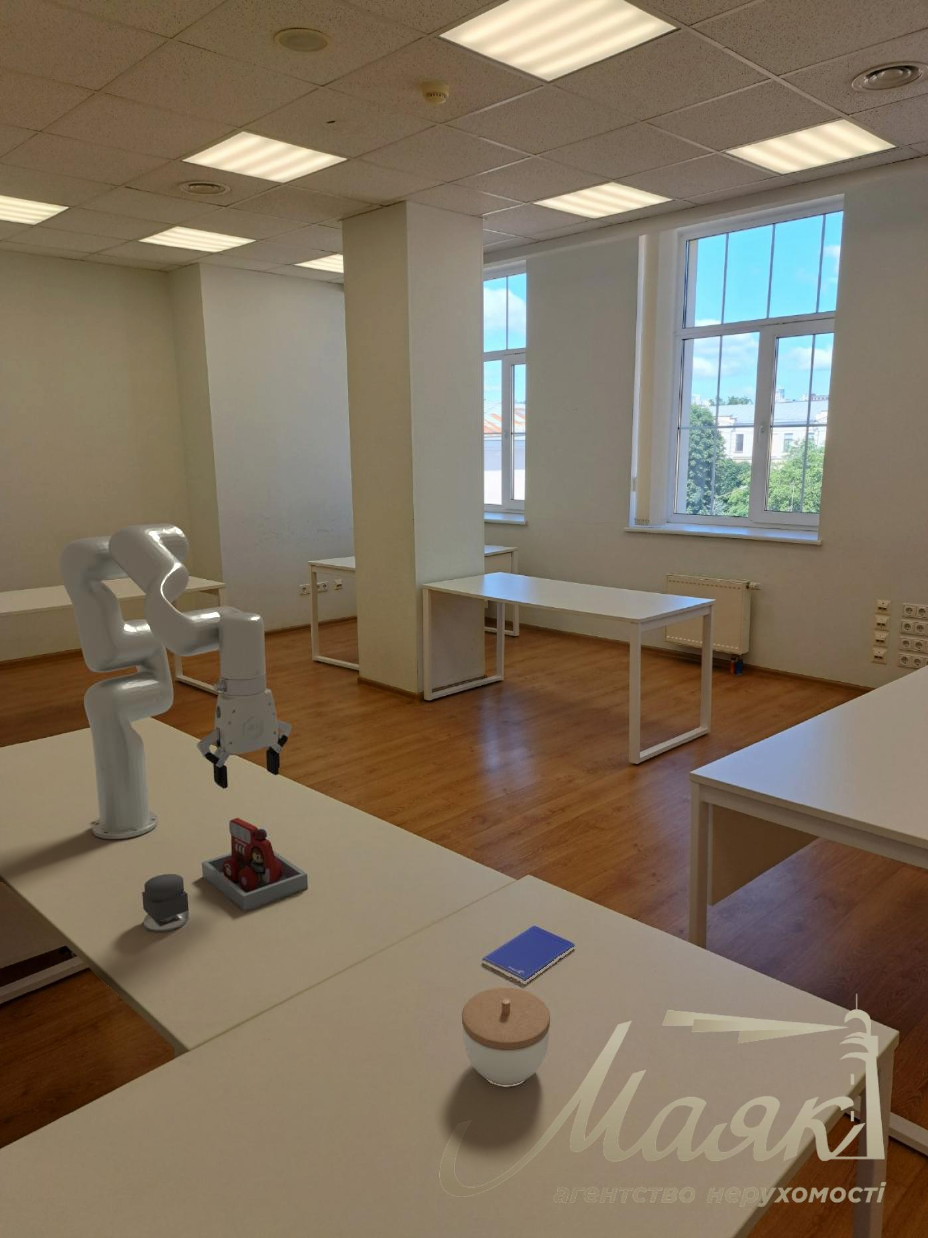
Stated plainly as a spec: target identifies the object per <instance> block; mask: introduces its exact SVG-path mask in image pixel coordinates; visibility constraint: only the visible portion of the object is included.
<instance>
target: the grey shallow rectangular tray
mask: <svg viewBox="0 0 928 1238" xmlns="http://www.w3.org/2000/svg"><path fill="white" fill-rule="evenodd" d="M273 852H274V855H275V858H276V859H277V860H278V861H279V862H280V864H281V866H282V877H281V878H280V879H278V880H277V881H276V882H275V883H272V884H267V883H265V882H263V881H261V882H259V883H258V884H257V888H256V889H255V890H253V891H251V892H245V891H244V890H243V889H242V888H241V886H240V884H239V880H238V881H235V882H231V881H230V880H229V879H228V878H226V877H225V876H224V874H223V869H222V866H223V863H224V861H226V860H228V859H231V858H232V854H231V852H230V853H227V854H223V855H221V856H218V857H214V858H210V859H208V860H204V861H202V862H201V870H202V871H201V872H202V878H204V879H205V880H206V881H207V882H208V883H210V884H211V885H212V886H213V887H215V889H217V890H218V891H219V892H220V893H221V894H223V895H224V897H226V898H227V899H229V900H230V901H231V902H232V903H233V904H234V905H236V906H237V907H238V908H239V909H240V910H242V911H243V912H244V913H245V912H249V911H251V910H255V909H257V908H259V907H262V906H264V905H267V904H270V903H272V902H275V901H278V900H281V899H283V898H286V897H290V896H292V895H295V894H297V893H300V892H303V891H306V890H308V889H309V886H308V883H309V882H308V873H306V872H305V871H304V870H302V869H301V868H300V867H298V866H297V865H295V864H294V863H292V862H290V860H288V859H286V858H285V857H283V856H282V855H281V854H279V853H278V852H276V851H275V850H273Z"/></svg>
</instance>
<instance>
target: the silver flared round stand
mask: <svg viewBox="0 0 928 1238" xmlns="http://www.w3.org/2000/svg"><path fill="white" fill-rule="evenodd" d="M189 920H190V913H189V911H186V912H183V913H181V914H178V915H175V916H172V917H169V918H166V919H164V920H161V921H158V922H155V921H154V920H153V919H152V918H151V917H150V915H149V914H148V913H146V915H145V916H144V918H143V926H144V929H146V930H147V931H149V932H152V933H168V932H171V931H175V930H178V929H181V928H182V927H184V926H185V925H186V924H187V923H188V922H189Z"/></svg>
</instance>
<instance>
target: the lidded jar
mask: <svg viewBox="0 0 928 1238" xmlns="http://www.w3.org/2000/svg"><path fill="white" fill-rule="evenodd" d="M550 1023H551V1014H550V1011H549V1008H548V1006H547V1005H546V1004H545V1002H544V1001H543V1000H542V999H540V998H539V997H538V996H537V995H536V994H533V993H531V992H529V991H526V990H523V989H519V988H514V987H513V988H512V987H497V988H491V989H486V990H483V991H481V992H478V993H476V994H475V995H473V996H472V997H471V998H469V999H468V1001H467V1002H466V1003H465V1005H463V1008H462V1013H461V1024H462V1033H463V1035H462V1036H463V1043H464V1046H465V1051H466V1055H467V1057H468V1059H469V1062H470V1064H471V1066H472V1067H473V1068H474V1070H475V1071H476V1072H477V1073H478V1074H480V1076H482V1077H483V1078H484V1079H485V1078H486V1079H488V1080H490V1081H492V1082H493V1083H496V1084H500V1085H513V1084H517V1083H520V1082H522V1081H524V1080H526V1079H527V1080H528V1079H529V1078H531V1077H532V1076H533V1075H534V1074H535V1073H536V1072H537V1071H538V1070H539V1068H540V1067H541V1065H542V1063H543V1061H544V1059H545V1057H546V1053H547V1050H548V1045H549V1037H550V1036H549V1034H550V1027H551V1026H550V1025H551V1024H550ZM527 1080H526V1081H527Z"/></svg>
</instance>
